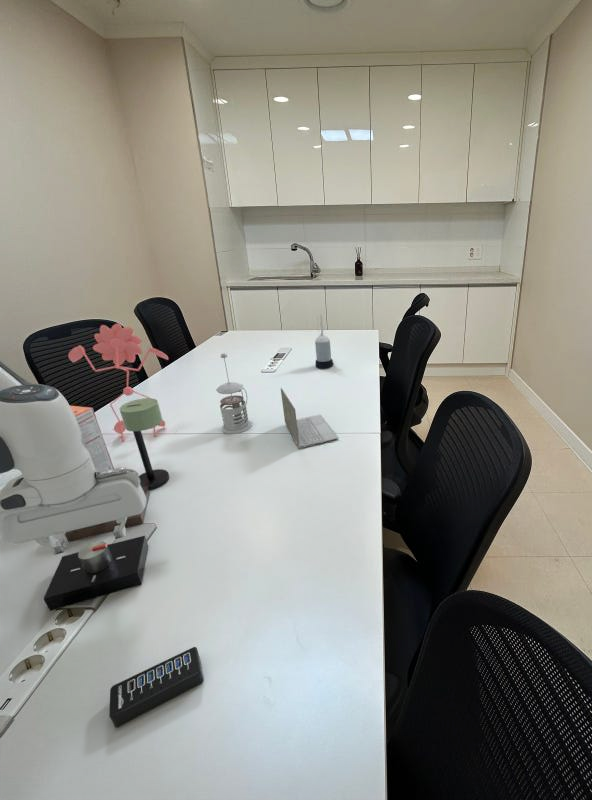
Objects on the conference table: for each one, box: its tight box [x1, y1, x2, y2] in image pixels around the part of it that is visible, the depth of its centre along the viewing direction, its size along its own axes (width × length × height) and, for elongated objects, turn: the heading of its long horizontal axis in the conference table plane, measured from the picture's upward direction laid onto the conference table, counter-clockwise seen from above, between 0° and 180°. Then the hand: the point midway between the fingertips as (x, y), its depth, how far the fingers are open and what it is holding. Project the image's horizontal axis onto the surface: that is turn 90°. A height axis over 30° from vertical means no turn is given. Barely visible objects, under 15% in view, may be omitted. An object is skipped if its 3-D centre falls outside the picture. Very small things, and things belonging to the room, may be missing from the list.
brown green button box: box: [64, 486, 151, 543], centre depth 87 cm, size 14×12×4 cm
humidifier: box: [314, 311, 335, 370], centre depth 177 cm, size 8×8×25 cm
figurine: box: [68, 323, 177, 442], centre depth 120 cm, size 15×26×35 cm, turn 108°
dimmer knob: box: [77, 540, 112, 574], centre depth 70 cm, size 4×4×4 cm
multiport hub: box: [108, 646, 205, 728], centre depth 54 cm, size 4×11×2 cm, turn 120°
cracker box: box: [70, 405, 115, 472], centre depth 96 cm, size 14×6×21 cm, turn 76°
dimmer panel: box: [43, 535, 149, 612], centre depth 72 cm, size 14×10×3 cm
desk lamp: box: [119, 397, 170, 492], centre depth 96 cm, size 10×8×22 cm
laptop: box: [280, 387, 339, 449], centre depth 120 cm, size 18×12×13 cm
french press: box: [215, 353, 253, 435], centre depth 123 cm, size 10×12×25 cm
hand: (91, 543), depth 69 cm, fingers open, 8 cm apart
